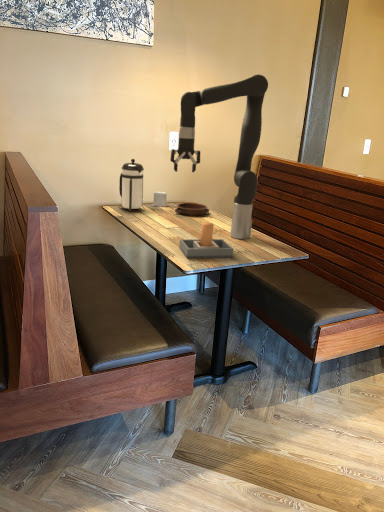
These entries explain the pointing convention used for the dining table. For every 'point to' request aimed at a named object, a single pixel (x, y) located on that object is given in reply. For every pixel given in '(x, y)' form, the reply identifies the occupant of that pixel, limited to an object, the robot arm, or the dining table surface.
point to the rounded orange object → (206, 234)
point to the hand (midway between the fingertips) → (184, 171)
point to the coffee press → (131, 185)
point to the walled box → (205, 249)
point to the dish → (191, 209)
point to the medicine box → (160, 199)
